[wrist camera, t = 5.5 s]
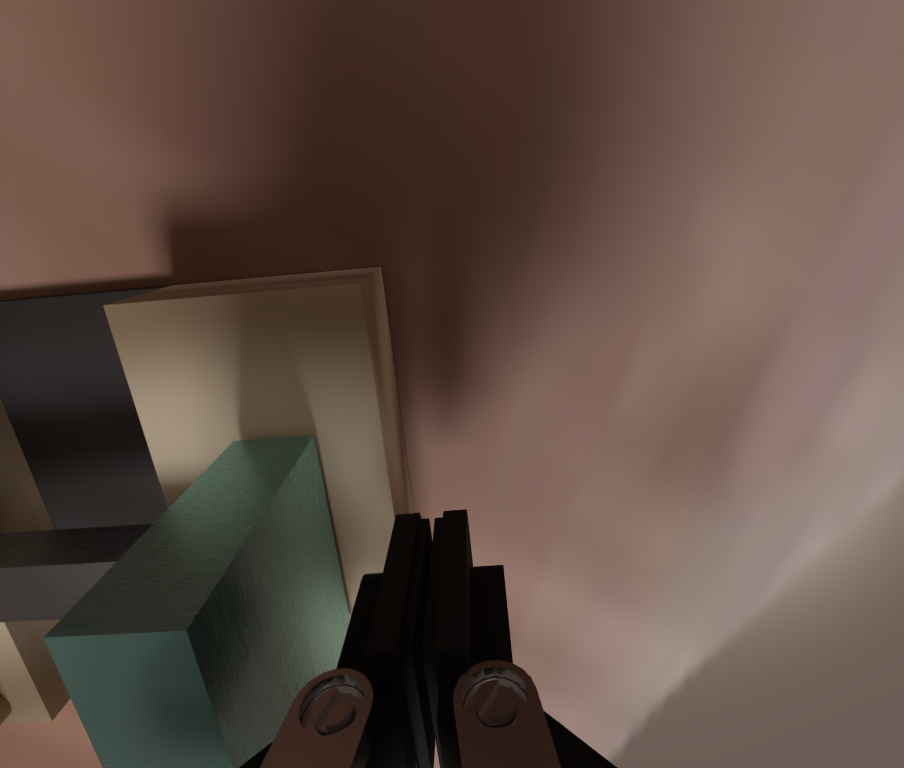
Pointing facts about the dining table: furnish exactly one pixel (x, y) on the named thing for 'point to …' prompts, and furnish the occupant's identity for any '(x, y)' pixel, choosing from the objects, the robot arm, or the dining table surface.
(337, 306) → the tunnel
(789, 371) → the dining table surface
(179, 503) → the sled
